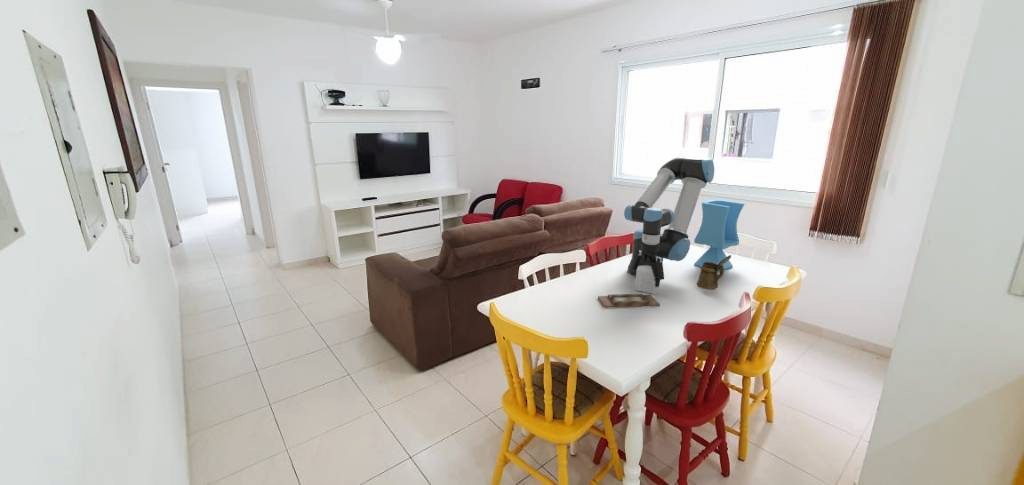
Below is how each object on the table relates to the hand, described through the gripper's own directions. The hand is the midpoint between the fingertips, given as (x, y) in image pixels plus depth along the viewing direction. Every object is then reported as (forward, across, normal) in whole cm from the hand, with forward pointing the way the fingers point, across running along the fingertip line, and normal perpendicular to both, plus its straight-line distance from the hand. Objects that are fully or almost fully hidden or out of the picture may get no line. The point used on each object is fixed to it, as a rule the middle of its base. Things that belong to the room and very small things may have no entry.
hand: (646, 288), depth 187 cm
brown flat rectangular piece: (+1, +5, -16) cm, 17 cm away
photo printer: (+1, 0, 0) cm, 1 cm away
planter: (+1, -7, +57) cm, 58 cm away
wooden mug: (+1, +12, +30) cm, 32 cm away
